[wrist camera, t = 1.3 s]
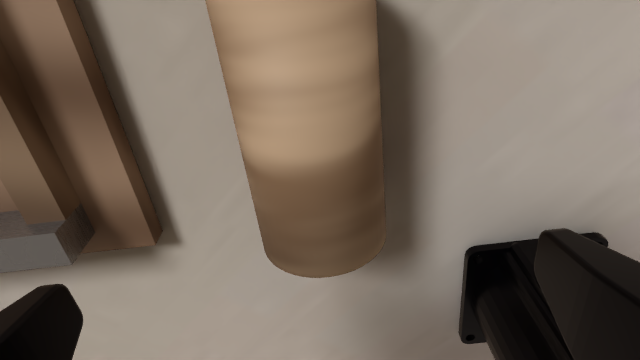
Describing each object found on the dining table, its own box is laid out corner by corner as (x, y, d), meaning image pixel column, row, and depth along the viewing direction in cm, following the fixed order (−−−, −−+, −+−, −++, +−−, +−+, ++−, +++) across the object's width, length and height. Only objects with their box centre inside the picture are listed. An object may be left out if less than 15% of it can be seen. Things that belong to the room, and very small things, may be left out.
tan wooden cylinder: (366, 192, 18) (404, 261, 14) (260, 212, 18) (267, 290, 14) (351, -33, 14) (399, -28, 10) (209, -12, 13) (196, 2, 9)
